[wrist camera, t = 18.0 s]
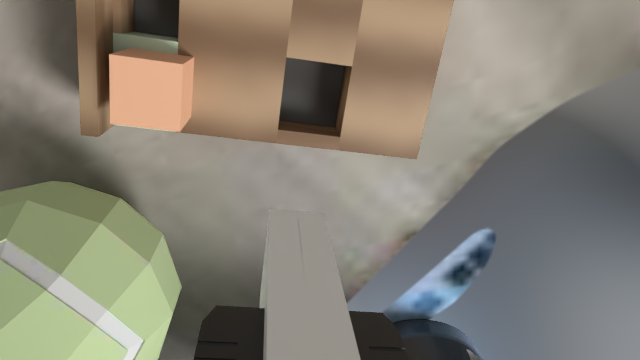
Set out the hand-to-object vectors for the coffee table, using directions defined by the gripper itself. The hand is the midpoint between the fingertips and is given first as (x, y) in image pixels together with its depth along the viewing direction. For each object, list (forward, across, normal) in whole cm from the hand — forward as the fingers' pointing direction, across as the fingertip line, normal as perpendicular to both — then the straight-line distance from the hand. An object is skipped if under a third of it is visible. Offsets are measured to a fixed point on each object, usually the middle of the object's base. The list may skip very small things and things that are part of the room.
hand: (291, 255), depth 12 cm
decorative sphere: (+23, +14, +13) cm, 30 cm away
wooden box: (+23, 0, -4) cm, 23 cm away
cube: (+20, +8, -1) cm, 22 cm away
